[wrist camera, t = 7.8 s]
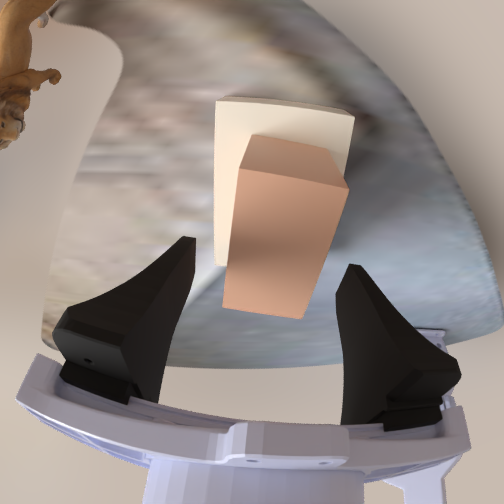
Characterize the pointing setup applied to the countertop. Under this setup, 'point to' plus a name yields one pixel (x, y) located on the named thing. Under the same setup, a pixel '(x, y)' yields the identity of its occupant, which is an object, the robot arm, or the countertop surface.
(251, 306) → the terracotta brick
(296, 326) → the countertop surface
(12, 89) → the lion figurine
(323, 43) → the countertop surface
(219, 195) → the cream base brick
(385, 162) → the countertop surface
